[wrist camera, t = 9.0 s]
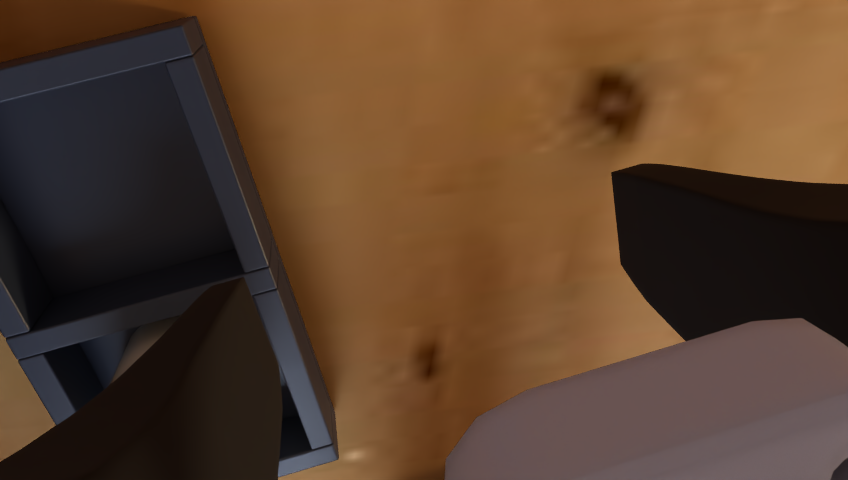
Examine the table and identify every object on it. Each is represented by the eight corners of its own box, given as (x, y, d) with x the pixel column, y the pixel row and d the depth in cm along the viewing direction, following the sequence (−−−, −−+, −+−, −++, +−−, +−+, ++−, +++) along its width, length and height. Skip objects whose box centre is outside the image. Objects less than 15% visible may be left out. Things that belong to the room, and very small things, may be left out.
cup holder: (335, 412, 26) (339, 460, 24) (132, 471, 26) (115, 526, 23) (196, 15, 19) (182, 24, 17) (-83, 82, 19) (-138, 102, 16)
